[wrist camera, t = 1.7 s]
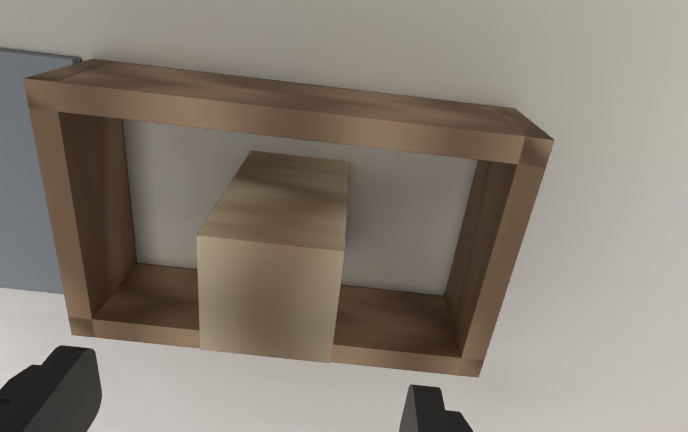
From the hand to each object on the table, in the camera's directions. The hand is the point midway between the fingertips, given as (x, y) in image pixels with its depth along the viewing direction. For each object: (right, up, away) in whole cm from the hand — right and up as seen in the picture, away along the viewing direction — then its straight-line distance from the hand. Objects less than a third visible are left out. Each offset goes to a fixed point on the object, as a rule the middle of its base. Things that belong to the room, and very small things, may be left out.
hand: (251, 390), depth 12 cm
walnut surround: (0, +5, +10) cm, 12 cm away
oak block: (0, +5, +10) cm, 12 cm away
